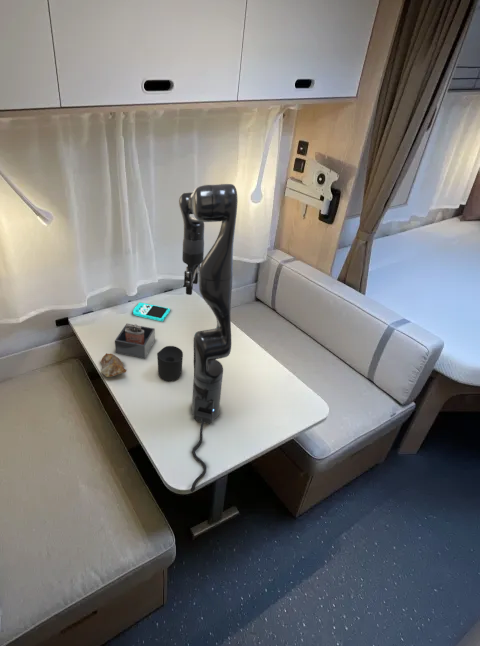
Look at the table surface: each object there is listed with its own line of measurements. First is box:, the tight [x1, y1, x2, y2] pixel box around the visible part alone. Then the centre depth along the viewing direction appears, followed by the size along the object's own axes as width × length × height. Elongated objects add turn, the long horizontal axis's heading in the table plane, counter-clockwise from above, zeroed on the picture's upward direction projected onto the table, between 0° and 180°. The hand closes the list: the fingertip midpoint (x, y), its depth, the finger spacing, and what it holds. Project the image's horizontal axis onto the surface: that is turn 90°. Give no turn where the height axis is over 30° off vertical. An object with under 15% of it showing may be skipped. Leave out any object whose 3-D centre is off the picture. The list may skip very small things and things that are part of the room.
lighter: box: [125, 323, 144, 345], centre depth 162 cm, size 8×3×10 cm, turn 77°
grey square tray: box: [114, 323, 156, 360], centre depth 163 cm, size 12×13×6 cm
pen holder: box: [156, 345, 184, 383], centre depth 148 cm, size 9×9×10 cm
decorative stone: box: [100, 352, 128, 378], centre depth 152 cm, size 10×4×15 cm
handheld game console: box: [132, 302, 171, 322], centre depth 186 cm, size 10×16×1 cm, turn 70°
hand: (191, 288), depth 149 cm, fingers open, 8 cm apart
